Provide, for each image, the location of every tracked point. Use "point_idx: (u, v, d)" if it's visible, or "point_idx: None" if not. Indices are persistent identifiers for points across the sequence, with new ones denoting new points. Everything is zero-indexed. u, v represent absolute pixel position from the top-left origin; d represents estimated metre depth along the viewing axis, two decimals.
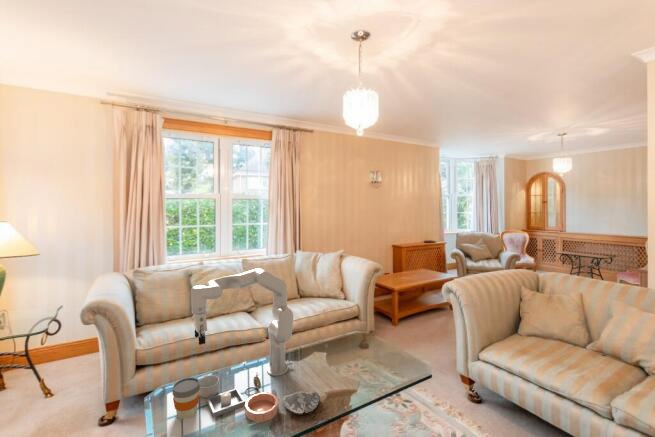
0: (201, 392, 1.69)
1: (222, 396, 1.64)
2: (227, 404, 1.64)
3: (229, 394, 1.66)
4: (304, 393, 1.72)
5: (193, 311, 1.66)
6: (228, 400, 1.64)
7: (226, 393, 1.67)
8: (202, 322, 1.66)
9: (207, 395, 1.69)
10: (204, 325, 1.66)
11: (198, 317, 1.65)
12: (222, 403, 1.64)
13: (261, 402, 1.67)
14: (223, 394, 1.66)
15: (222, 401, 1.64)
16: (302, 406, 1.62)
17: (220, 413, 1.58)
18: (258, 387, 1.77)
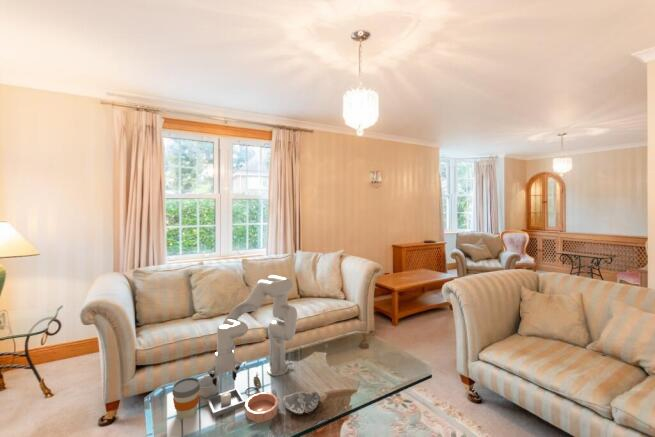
0: (201, 392, 1.69)
1: (222, 396, 1.64)
2: (227, 404, 1.64)
3: (229, 394, 1.66)
4: (304, 393, 1.72)
5: (230, 351, 1.61)
6: (228, 400, 1.64)
7: (226, 393, 1.67)
8: None
9: (207, 395, 1.69)
10: None
11: None
12: (222, 403, 1.64)
13: (261, 402, 1.67)
14: (223, 394, 1.66)
15: (222, 401, 1.64)
16: (302, 406, 1.62)
17: (220, 413, 1.58)
18: (258, 387, 1.77)
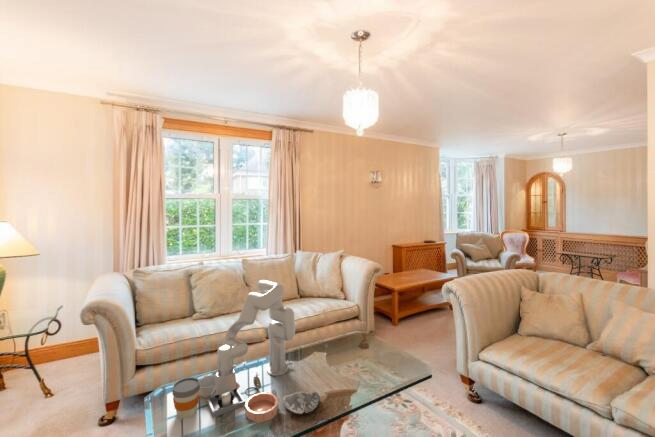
0: (201, 392, 1.69)
1: (222, 396, 1.64)
2: (227, 404, 1.64)
3: (229, 394, 1.66)
4: (304, 393, 1.72)
5: (230, 372, 1.63)
6: (228, 400, 1.64)
7: (226, 393, 1.67)
8: None
9: (207, 395, 1.69)
10: None
11: (234, 374, 1.66)
12: (222, 403, 1.64)
13: (261, 402, 1.67)
14: (223, 394, 1.66)
15: (222, 401, 1.64)
16: (302, 406, 1.62)
17: (220, 413, 1.58)
18: (258, 387, 1.77)
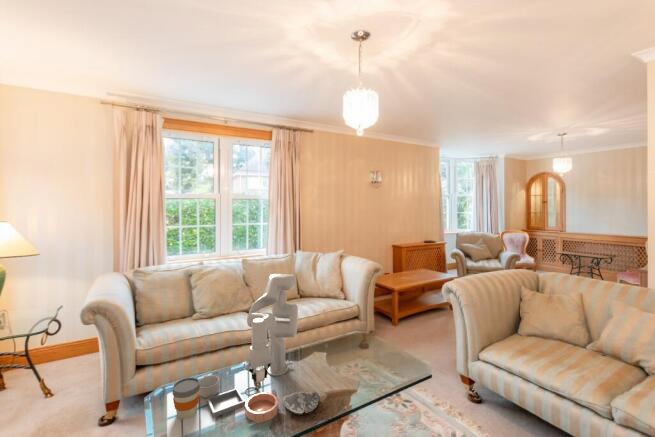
0: (201, 392, 1.69)
1: (256, 370, 1.59)
2: (261, 379, 1.59)
3: (263, 369, 1.61)
4: (304, 393, 1.72)
5: (265, 345, 1.57)
6: (262, 374, 1.59)
7: (260, 368, 1.62)
8: None
9: (207, 395, 1.69)
10: None
11: (268, 347, 1.61)
12: (256, 377, 1.58)
13: (261, 402, 1.67)
14: (257, 368, 1.61)
15: (256, 375, 1.58)
16: (302, 406, 1.62)
17: (220, 413, 1.58)
18: (258, 387, 1.77)
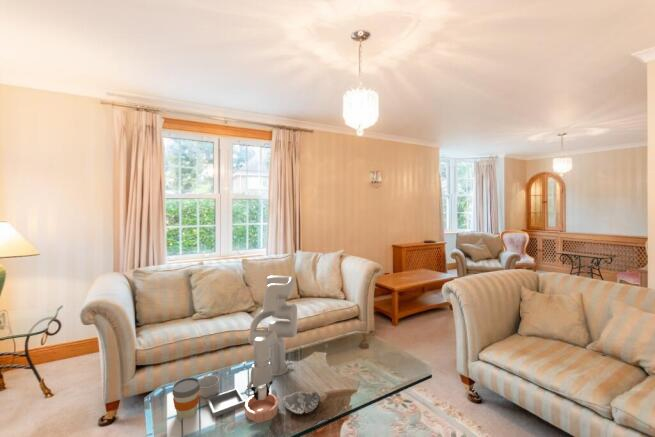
0: (201, 392, 1.69)
1: (258, 389, 1.60)
2: (263, 397, 1.59)
3: (265, 387, 1.61)
4: (304, 393, 1.72)
5: (267, 363, 1.58)
6: (264, 393, 1.59)
7: (262, 386, 1.62)
8: None
9: (207, 395, 1.69)
10: None
11: (270, 365, 1.61)
12: (258, 396, 1.59)
13: (261, 402, 1.67)
14: (259, 387, 1.61)
15: (258, 394, 1.59)
16: (302, 406, 1.62)
17: (220, 413, 1.58)
18: None
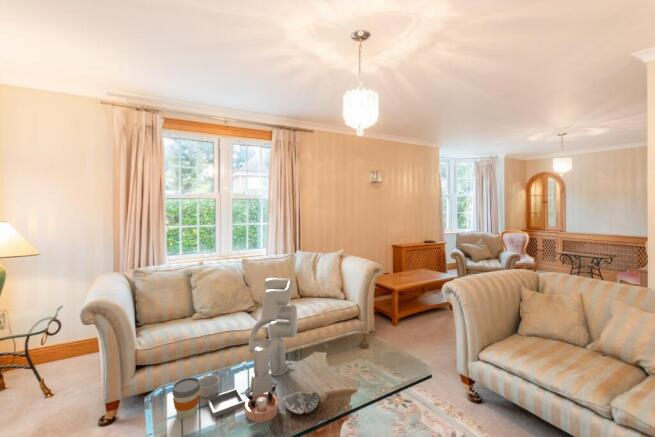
0: (201, 392, 1.69)
1: (258, 401, 1.60)
2: (263, 409, 1.60)
3: (265, 399, 1.62)
4: (304, 393, 1.72)
5: (267, 373, 1.59)
6: (264, 405, 1.60)
7: (262, 398, 1.63)
8: None
9: (207, 395, 1.69)
10: None
11: (270, 374, 1.62)
12: (258, 408, 1.60)
13: None
14: (259, 399, 1.62)
15: (258, 406, 1.60)
16: (302, 406, 1.62)
17: (220, 413, 1.58)
18: None
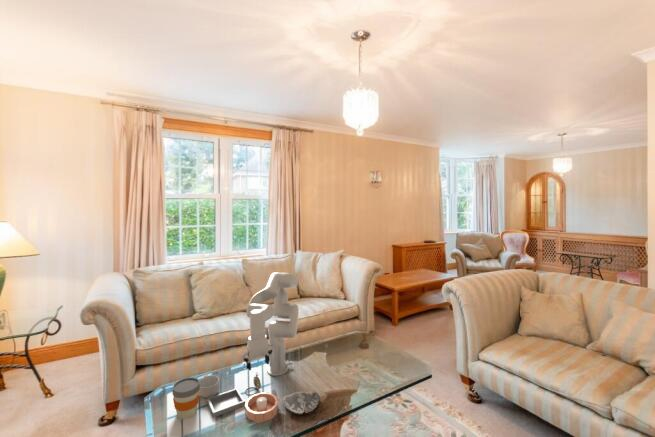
0: (201, 392, 1.69)
1: (258, 401, 1.60)
2: (263, 409, 1.60)
3: (265, 399, 1.62)
4: (304, 393, 1.72)
5: (263, 335, 1.60)
6: (264, 405, 1.60)
7: (262, 398, 1.63)
8: None
9: (207, 395, 1.69)
10: None
11: (266, 338, 1.63)
12: (258, 408, 1.60)
13: None
14: (259, 399, 1.62)
15: (258, 406, 1.60)
16: (302, 406, 1.62)
17: (220, 413, 1.58)
18: (258, 387, 1.77)
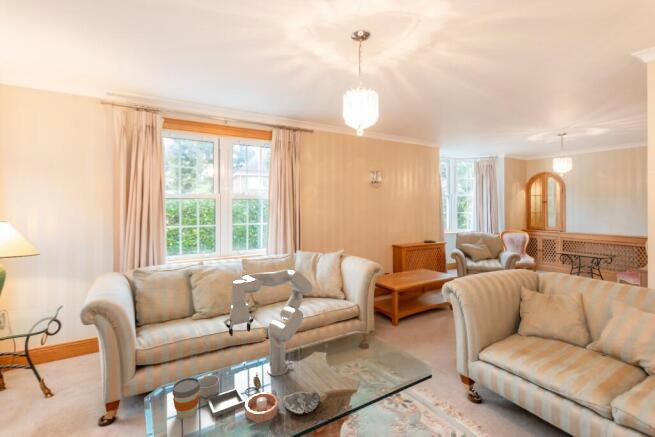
0: (201, 392, 1.69)
1: (258, 401, 1.60)
2: (263, 409, 1.60)
3: (265, 399, 1.62)
4: (304, 393, 1.72)
5: (244, 304, 1.74)
6: (264, 405, 1.60)
7: (262, 398, 1.63)
8: None
9: (207, 395, 1.69)
10: None
11: None
12: (258, 408, 1.60)
13: None
14: (259, 399, 1.62)
15: (258, 406, 1.60)
16: (302, 406, 1.62)
17: (220, 413, 1.58)
18: (258, 387, 1.77)
